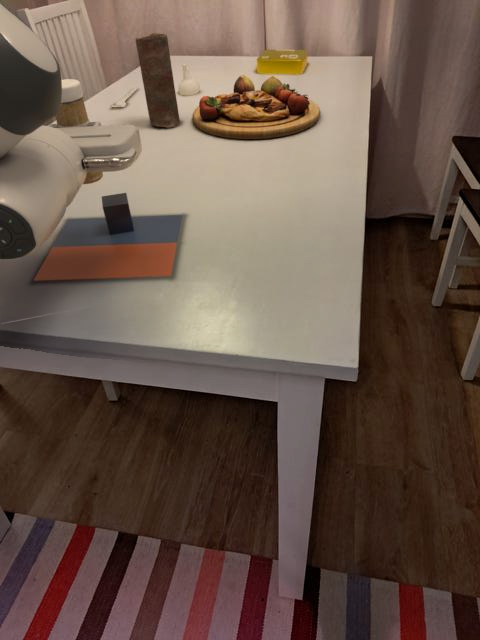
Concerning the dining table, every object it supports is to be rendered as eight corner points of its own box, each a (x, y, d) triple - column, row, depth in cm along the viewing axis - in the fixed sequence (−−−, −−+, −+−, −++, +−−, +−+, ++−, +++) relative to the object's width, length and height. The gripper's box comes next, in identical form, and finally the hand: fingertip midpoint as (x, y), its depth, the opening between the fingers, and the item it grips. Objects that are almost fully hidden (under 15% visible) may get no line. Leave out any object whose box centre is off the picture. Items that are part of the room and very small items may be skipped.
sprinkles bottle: (90, 170, 73) (65, 76, 64) (110, 176, 71) (87, 80, 62) (66, 181, 70) (37, 84, 61) (86, 188, 68) (59, 88, 59)
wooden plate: (203, 149, 104) (199, 110, 98) (186, 107, 128) (182, 74, 122) (338, 133, 108) (342, 95, 103) (298, 95, 132) (299, 62, 126)
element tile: (307, 63, 158) (308, 47, 155) (301, 75, 148) (302, 58, 144) (264, 63, 161) (264, 47, 158) (255, 74, 151) (255, 58, 147)
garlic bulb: (204, 94, 136) (201, 63, 131) (185, 98, 134) (182, 67, 129) (193, 89, 140) (190, 60, 135) (175, 93, 138) (171, 63, 133)
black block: (109, 235, 76) (102, 207, 73) (108, 223, 79) (101, 196, 76) (134, 230, 77) (128, 203, 73) (132, 219, 80) (126, 192, 76)
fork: (141, 90, 142) (140, 84, 141) (121, 111, 127) (119, 104, 126) (130, 90, 143) (129, 84, 141) (109, 111, 128) (108, 104, 126)
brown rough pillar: (154, 133, 113) (139, 38, 100) (146, 124, 118) (131, 33, 105) (184, 127, 115) (173, 34, 102) (174, 119, 121) (163, 29, 107)
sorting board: (34, 283, 68) (33, 280, 67) (69, 222, 81) (68, 219, 81) (171, 279, 67) (170, 275, 67) (183, 217, 81) (182, 214, 80)
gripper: (126, 136, 53) (145, 101, 64) (-48, 144, 54) (-1, 108, 65) (137, 188, 58) (152, 147, 68) (-25, 195, 58) (15, 153, 69)
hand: (76, 128), depth 66 cm, fingers closed on sprinkles bottle, 4 cm apart
